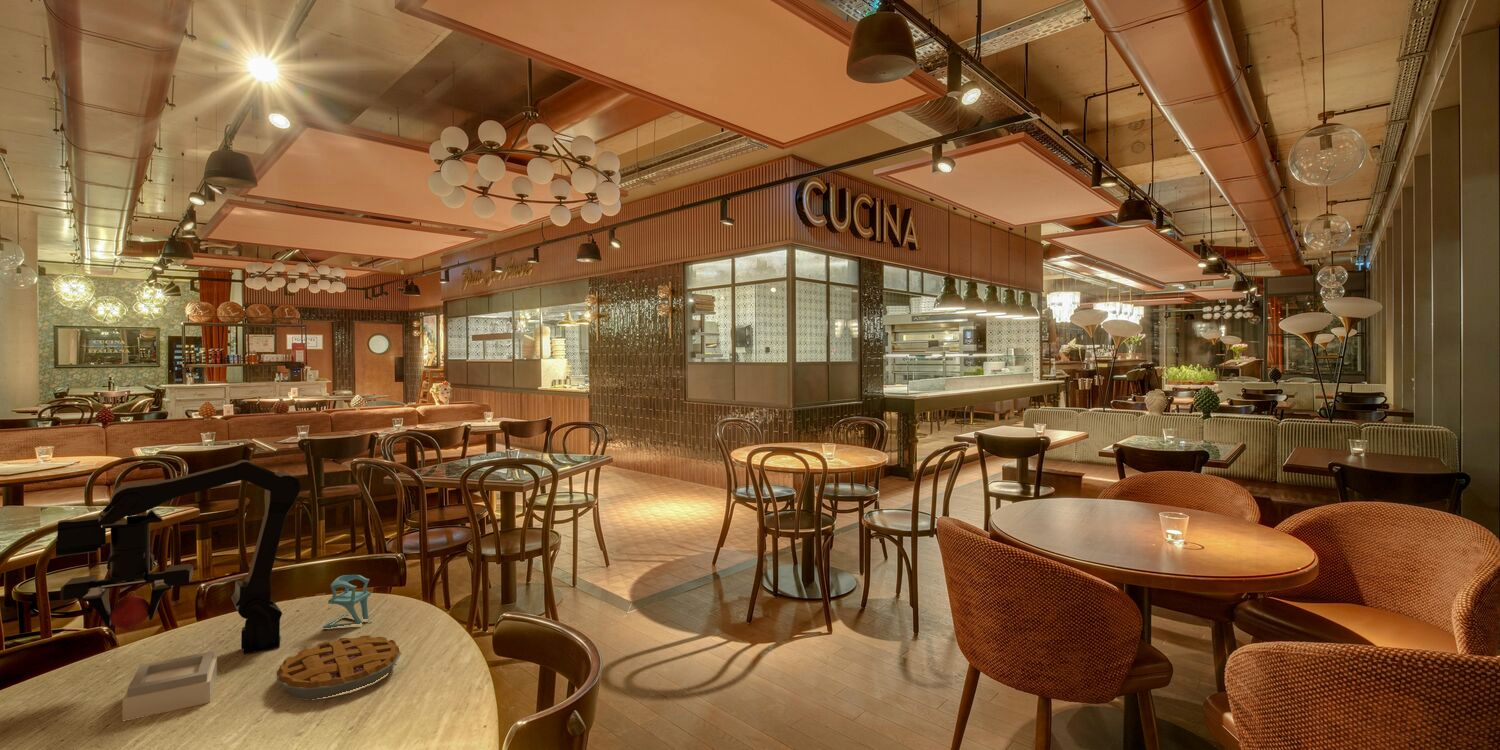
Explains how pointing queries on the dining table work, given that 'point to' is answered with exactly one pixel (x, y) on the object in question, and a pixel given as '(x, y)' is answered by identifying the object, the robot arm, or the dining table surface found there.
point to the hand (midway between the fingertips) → (130, 622)
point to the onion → (129, 612)
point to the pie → (337, 666)
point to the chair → (349, 598)
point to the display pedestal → (170, 685)
